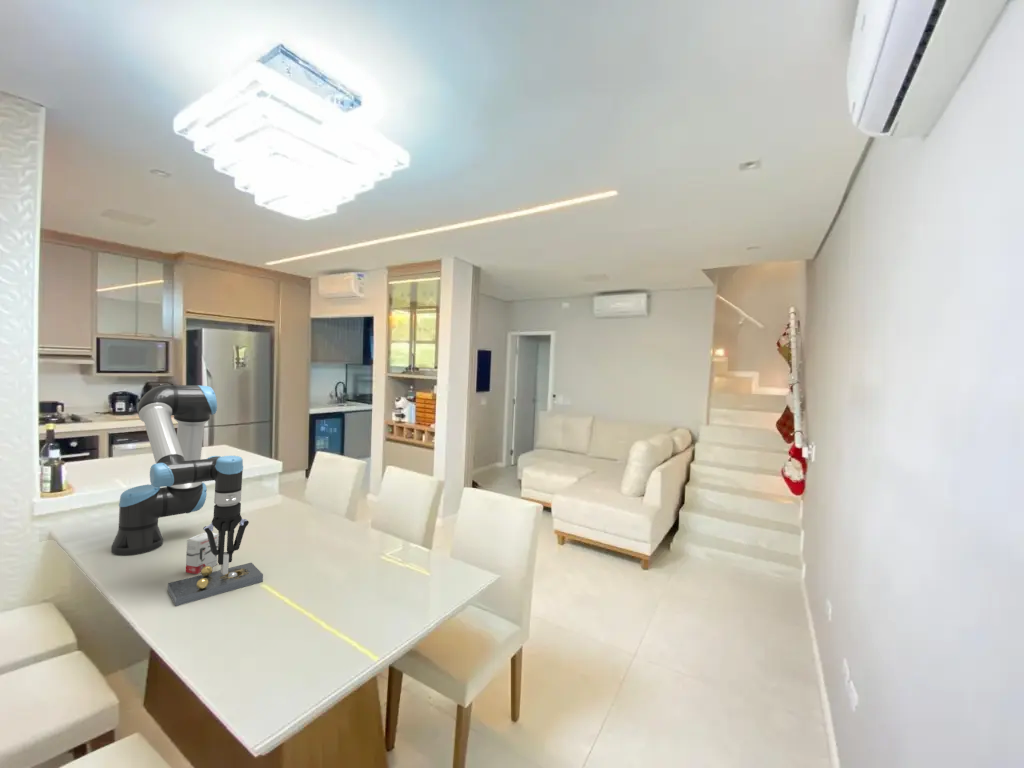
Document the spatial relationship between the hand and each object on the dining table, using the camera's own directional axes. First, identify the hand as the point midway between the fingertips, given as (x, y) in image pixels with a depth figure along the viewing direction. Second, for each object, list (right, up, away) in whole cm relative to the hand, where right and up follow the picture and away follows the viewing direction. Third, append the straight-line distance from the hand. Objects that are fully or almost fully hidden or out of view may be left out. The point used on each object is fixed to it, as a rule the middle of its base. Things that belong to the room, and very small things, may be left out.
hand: (224, 572), depth 146 cm
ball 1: (-6, +1, 0) cm, 6 cm away
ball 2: (-2, 0, -8) cm, 8 cm away
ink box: (-15, -3, +10) cm, 18 cm away
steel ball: (+1, -2, +2) cm, 3 cm away
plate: (-2, -4, -1) cm, 4 cm away
